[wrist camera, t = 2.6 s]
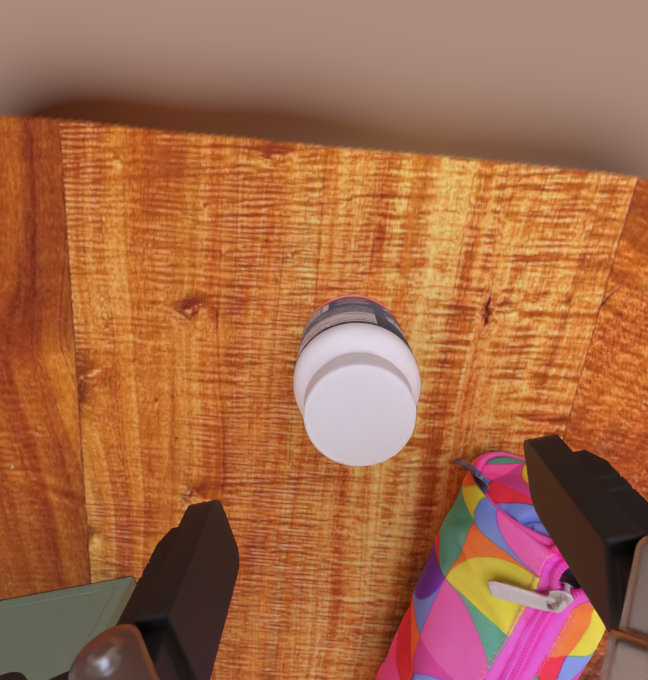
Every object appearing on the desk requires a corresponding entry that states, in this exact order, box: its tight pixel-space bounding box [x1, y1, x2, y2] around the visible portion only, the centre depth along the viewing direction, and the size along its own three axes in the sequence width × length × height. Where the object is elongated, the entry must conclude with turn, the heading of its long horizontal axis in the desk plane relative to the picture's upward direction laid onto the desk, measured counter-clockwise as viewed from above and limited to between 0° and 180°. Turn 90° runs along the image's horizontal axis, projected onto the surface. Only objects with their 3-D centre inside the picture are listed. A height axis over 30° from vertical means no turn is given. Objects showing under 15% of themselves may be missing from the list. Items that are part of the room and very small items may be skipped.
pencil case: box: [375, 451, 606, 680], centre depth 25 cm, size 22×9×9 cm, turn 165°
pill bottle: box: [293, 295, 421, 466], centre depth 20 cm, size 5×5×9 cm
